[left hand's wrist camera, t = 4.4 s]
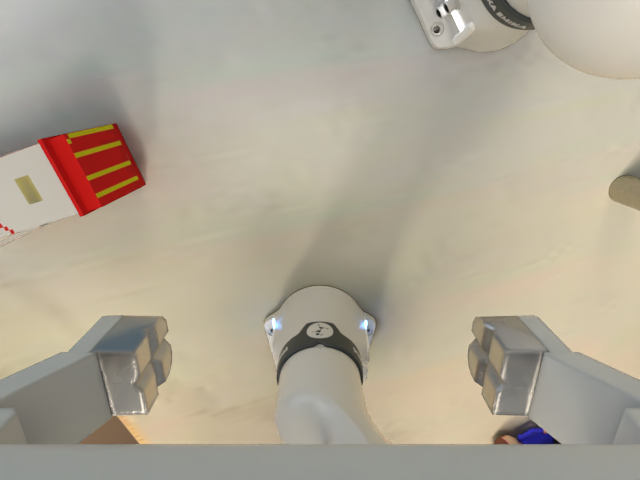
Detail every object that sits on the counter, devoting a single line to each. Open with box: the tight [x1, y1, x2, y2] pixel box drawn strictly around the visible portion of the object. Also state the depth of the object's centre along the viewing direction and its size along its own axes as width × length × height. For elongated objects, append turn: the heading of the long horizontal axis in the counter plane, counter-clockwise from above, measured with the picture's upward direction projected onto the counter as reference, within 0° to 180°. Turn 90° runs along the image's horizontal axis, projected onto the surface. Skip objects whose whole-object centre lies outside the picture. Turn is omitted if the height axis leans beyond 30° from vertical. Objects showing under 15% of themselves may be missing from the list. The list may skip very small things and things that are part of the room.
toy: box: [0, 123, 146, 247], centre depth 53 cm, size 12×13×30 cm
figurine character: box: [494, 428, 561, 444], centre depth 72 cm, size 7×8×15 cm
